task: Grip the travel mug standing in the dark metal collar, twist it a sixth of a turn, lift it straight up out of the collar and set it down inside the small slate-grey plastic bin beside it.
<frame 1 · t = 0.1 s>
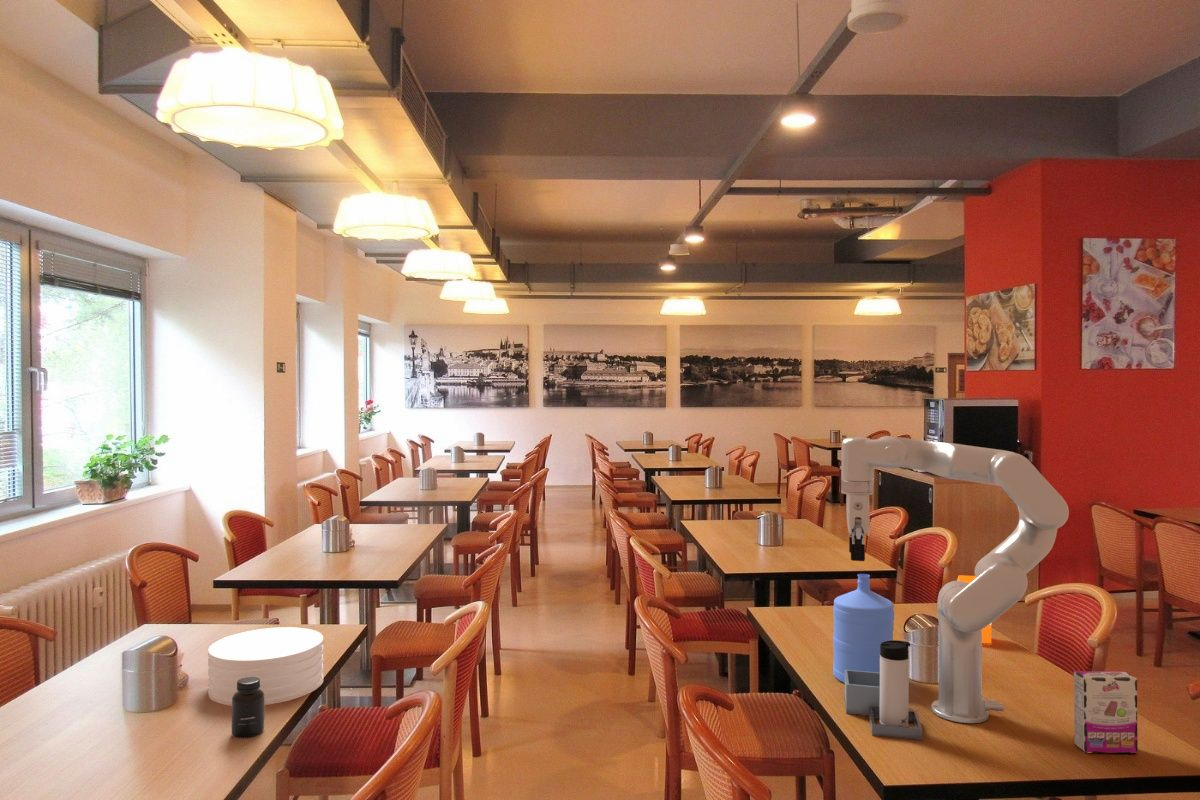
hand: (856, 556, 201), 37 cm above the table, tool pointing down, fingers open, 9 cm apart
candy bar box: (1104, 750, 176), on the table
orange juice: (972, 640, 253), on the table
water jug: (863, 679, 219), on the table
grey bin: (868, 707, 199), on the table
travel mug: (894, 729, 187), resting in metal collar
metal collar: (894, 728, 187), on the table
supplement bottle: (248, 733, 185), on the table
plate stack: (267, 686, 214), on the table
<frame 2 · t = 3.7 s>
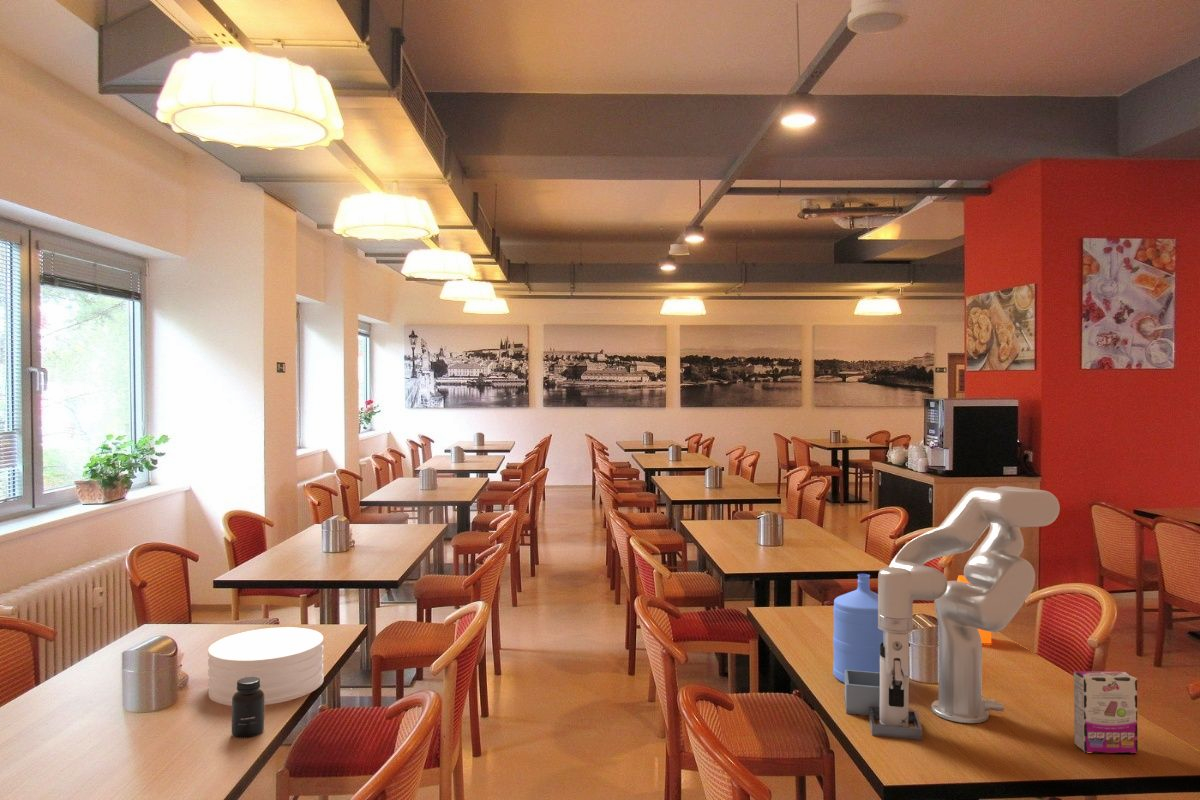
hand: (894, 699, 187), 7 cm above the table, tool pointing down, fingers closed on travel mug, 6 cm apart
travel mug: (894, 729, 187), resting in metal collar, touching gripper
everything else where it was.
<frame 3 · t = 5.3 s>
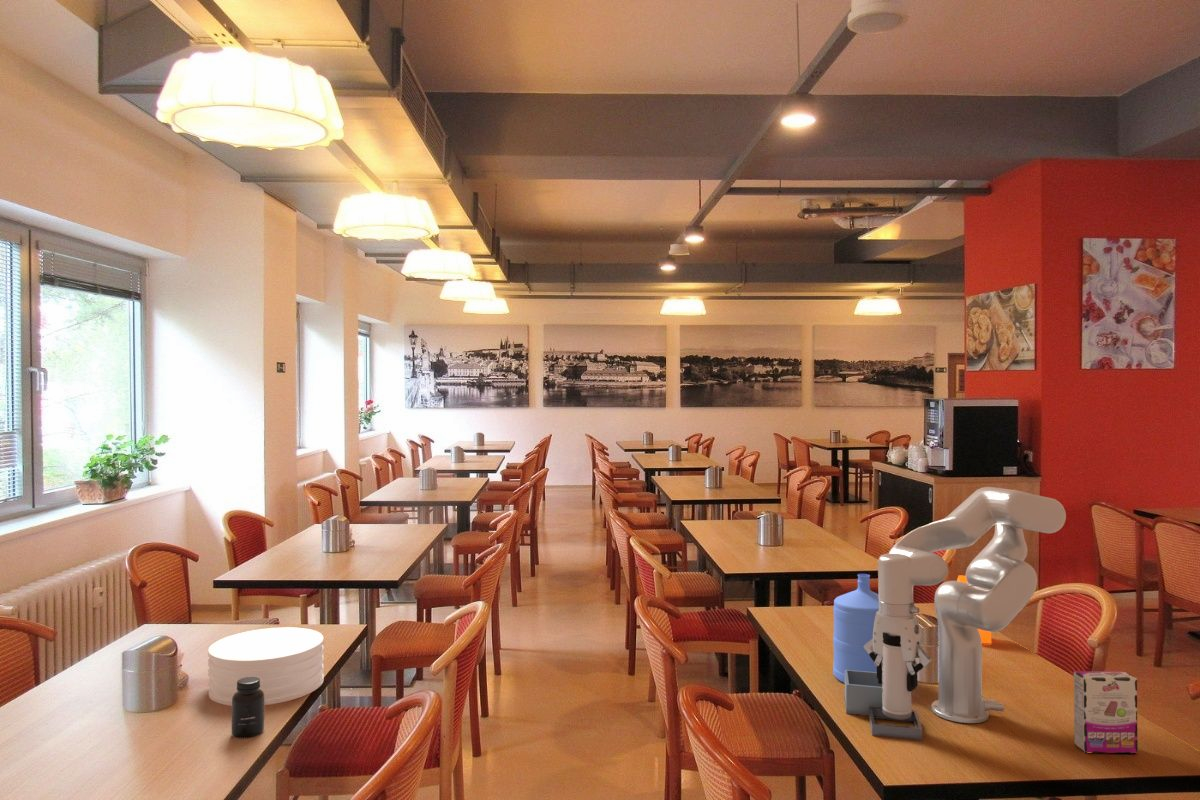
hand: (896, 685, 187), 10 cm above the table, tool pointing down, fingers closed on travel mug, 6 cm apart
travel mug: (897, 714, 187), point 3 cm above the table, touching gripper
everything else where it was.
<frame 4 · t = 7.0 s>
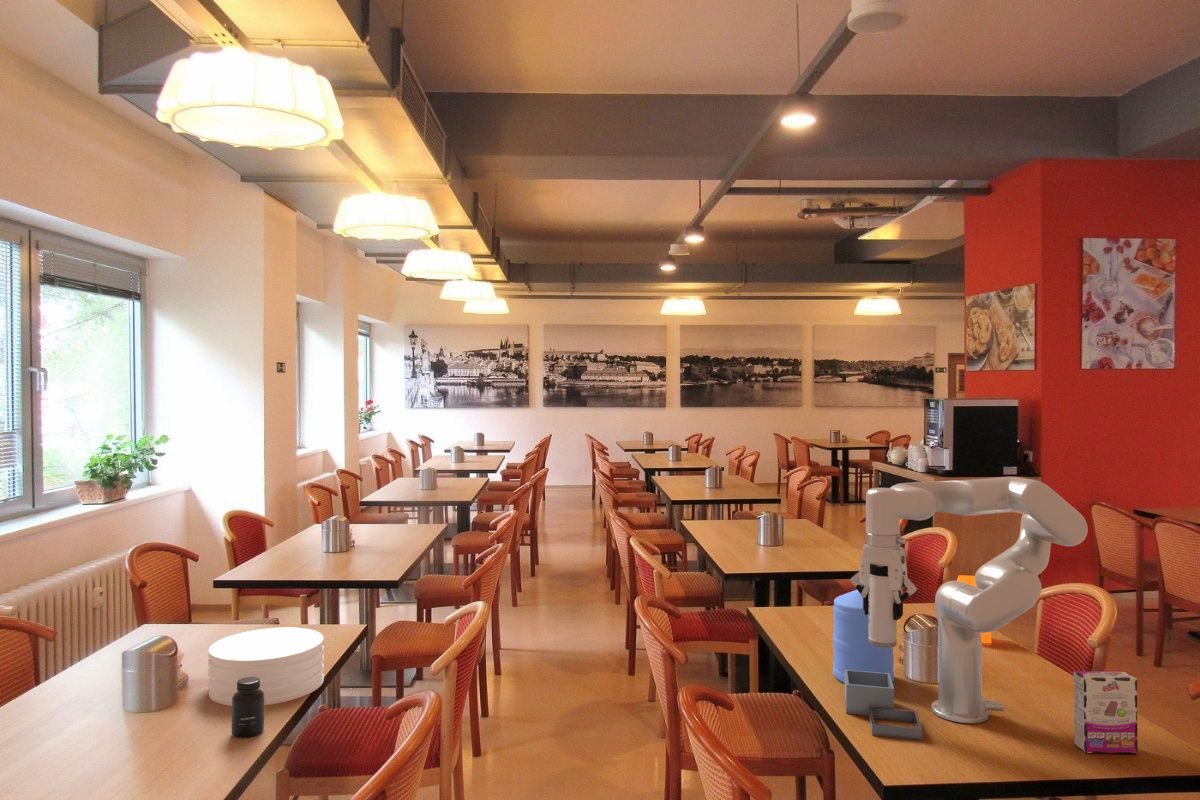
hand: (882, 615, 192), 24 cm above the table, tool pointing down, fingers closed on travel mug, 6 cm apart
travel mug: (882, 644, 192), point 18 cm above the table, touching gripper
everything else where it was.
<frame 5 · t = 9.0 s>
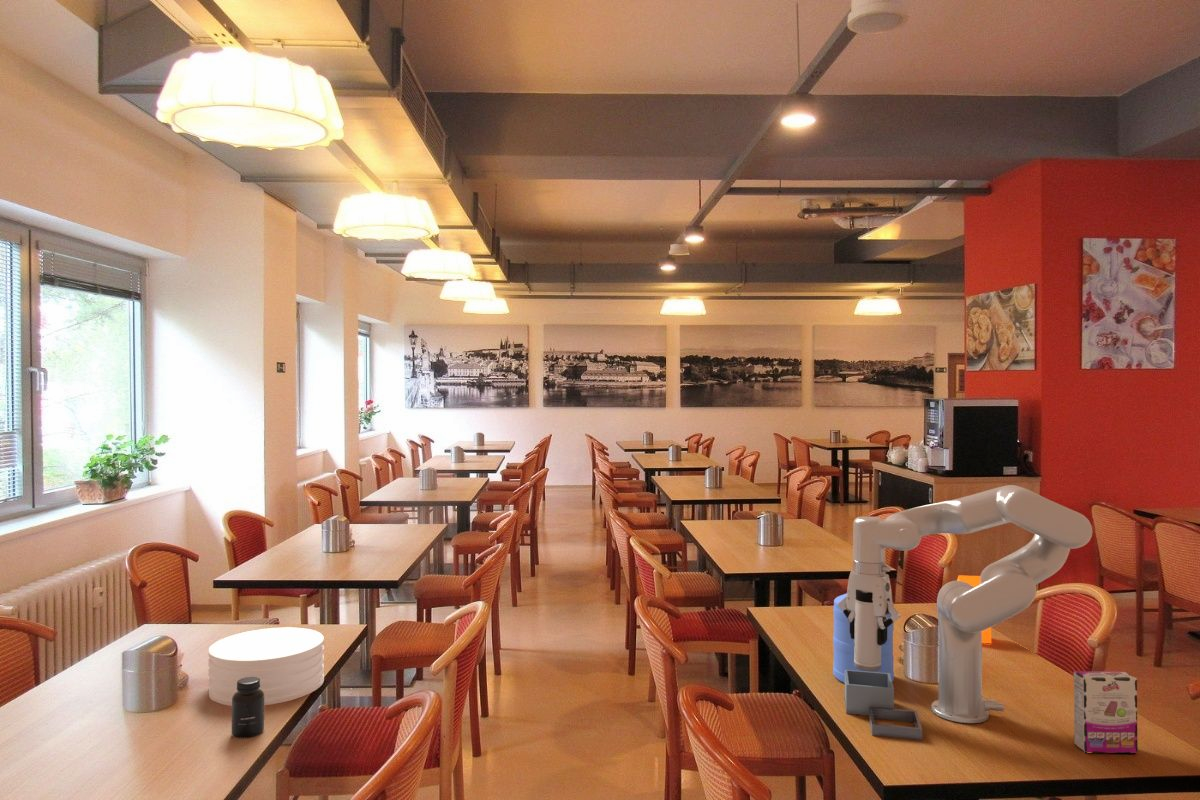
hand: (868, 640, 199), 17 cm above the table, tool pointing down, fingers closed on travel mug, 6 cm apart
travel mug: (867, 667, 199), point 10 cm above the table, touching gripper
everything else where it was.
when the fingers open (9 cm above the table, at t = 10.8 s): travel mug drops 2 cm, resting on grey bin.
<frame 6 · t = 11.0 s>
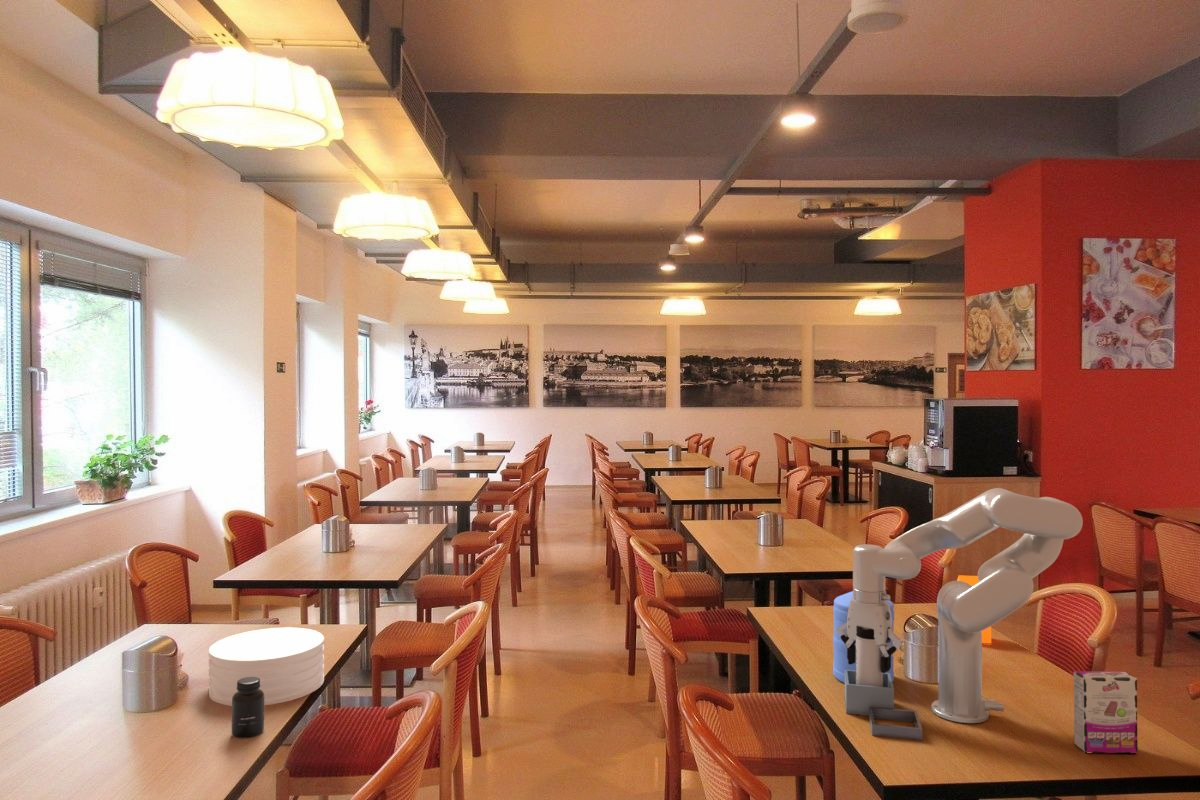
hand: (868, 666, 199), 10 cm above the table, tool pointing down, fingers open, 8 cm apart
travel mug: (869, 704, 199), point 1 cm above the table, touching grey bin
everything else where it was.
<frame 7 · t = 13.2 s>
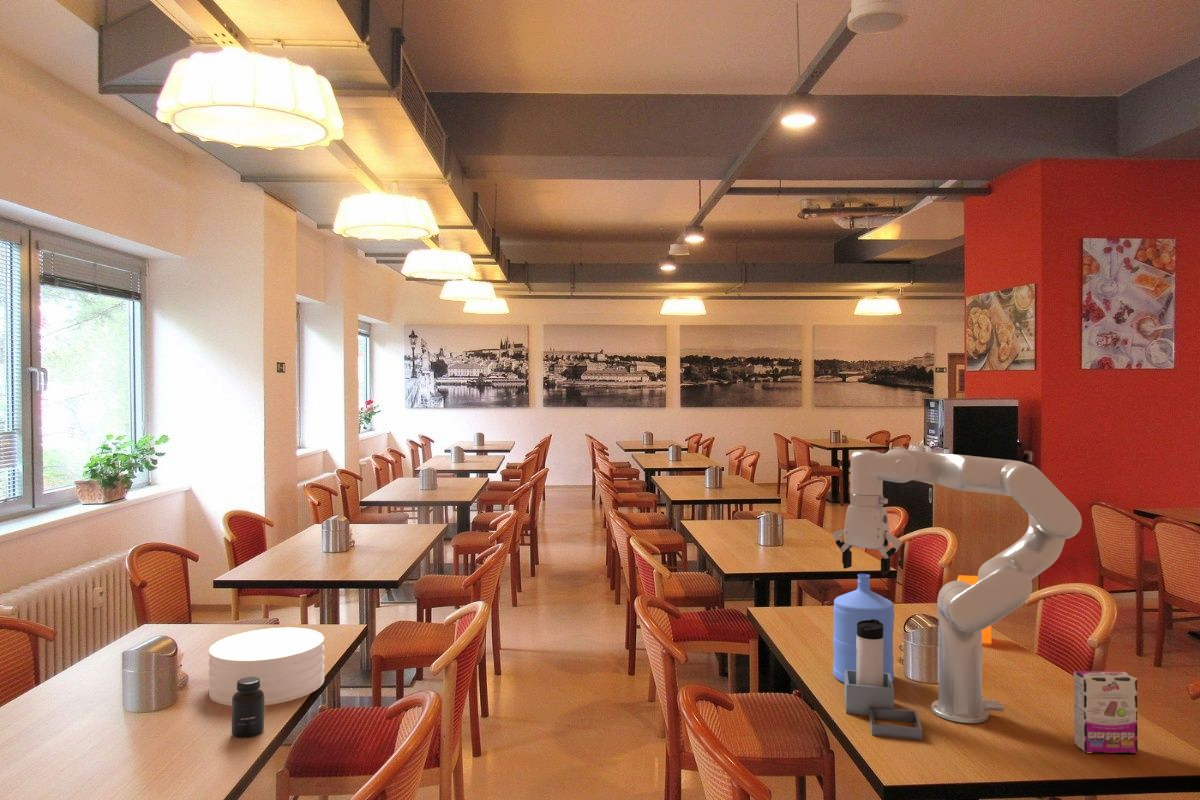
hand: (865, 570, 200), 33 cm above the table, tool pointing down, fingers open, 9 cm apart
nothing on the table moved.
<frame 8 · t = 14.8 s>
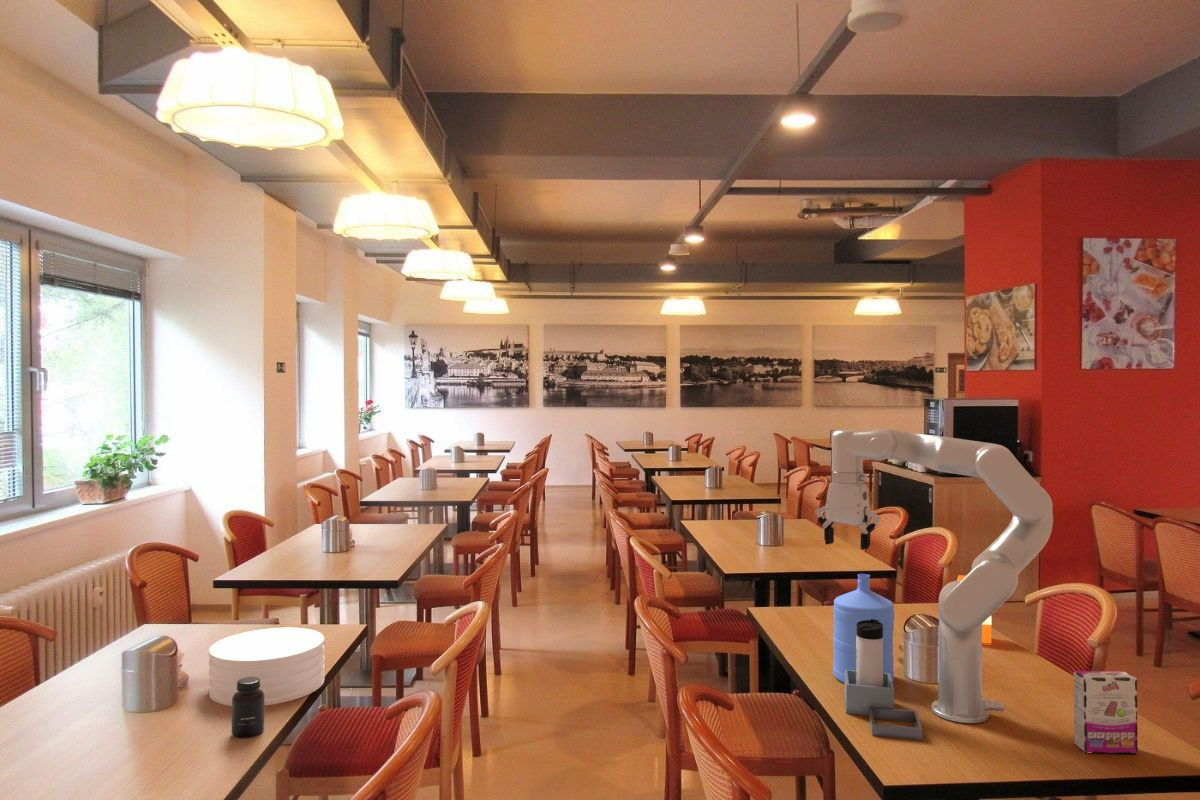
hand: (846, 546, 205), 38 cm above the table, tool pointing down, fingers open, 9 cm apart
nothing on the table moved.
at the end: travel mug inside the target area on the grey bin (0.3 cm from its centre), point 0.8 cm above the grey bin's base; the gripper is holding nothing; travel mug moved 12.4 cm from its start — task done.
